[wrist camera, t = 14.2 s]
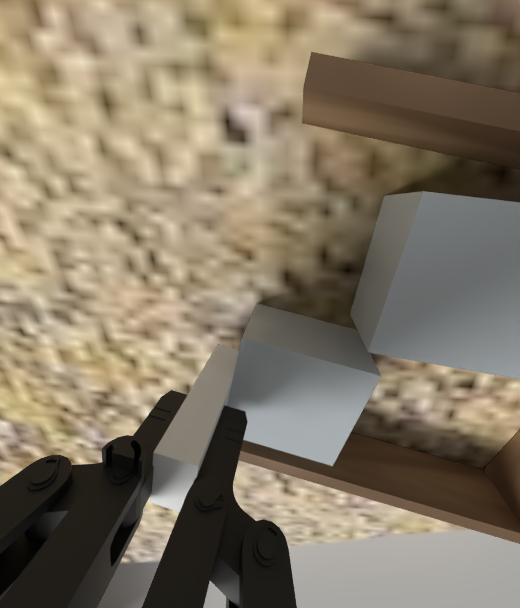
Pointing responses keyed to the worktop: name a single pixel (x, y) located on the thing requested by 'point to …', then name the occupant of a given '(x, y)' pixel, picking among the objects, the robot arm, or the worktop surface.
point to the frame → (444, 139)
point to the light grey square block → (443, 283)
